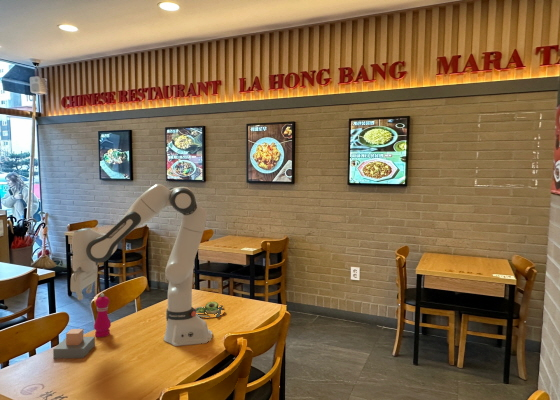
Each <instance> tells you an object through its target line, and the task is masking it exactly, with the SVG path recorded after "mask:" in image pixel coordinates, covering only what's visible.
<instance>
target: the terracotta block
mask: <svg viewBox="0 0 560 400" xmlns="http://www.w3.org/2000/svg"><path fill="white" fill-rule="evenodd" d="M83 337H84V328H71V329H70V330H69V331H68V332H66V334H65V338H66V345H79V344H80V343H81V342H82V341H83Z"/></svg>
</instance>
